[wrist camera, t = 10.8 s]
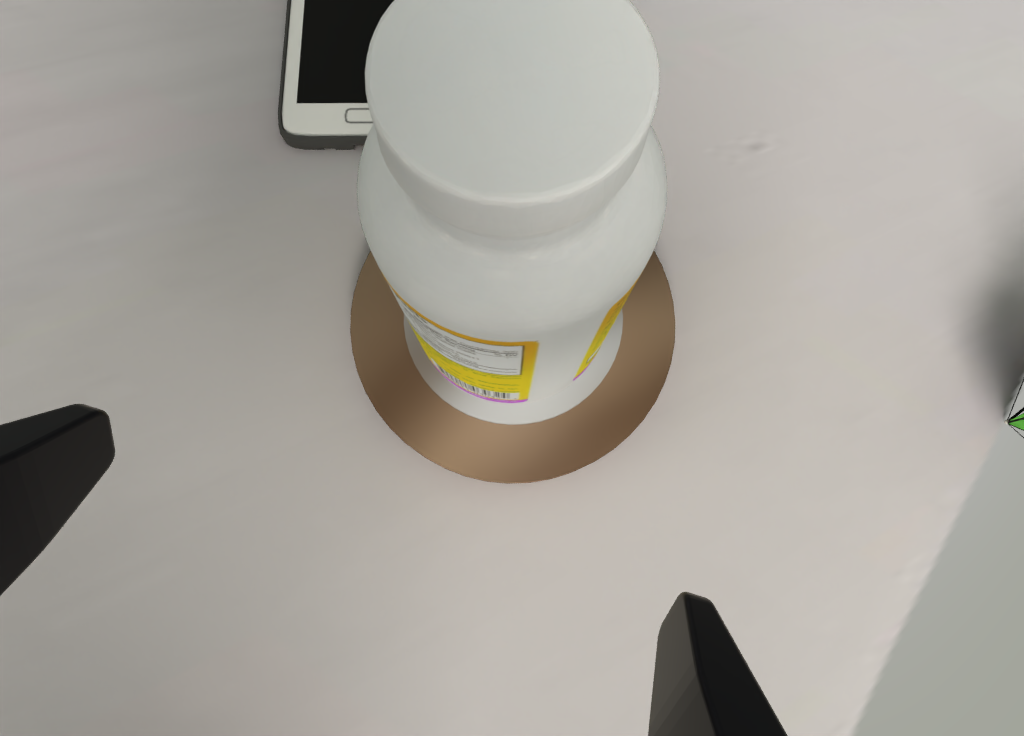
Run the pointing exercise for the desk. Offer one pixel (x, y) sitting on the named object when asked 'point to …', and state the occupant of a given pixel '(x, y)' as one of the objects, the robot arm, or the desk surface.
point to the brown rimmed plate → (520, 427)
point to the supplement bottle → (512, 181)
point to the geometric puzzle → (1020, 421)
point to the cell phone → (327, 72)
